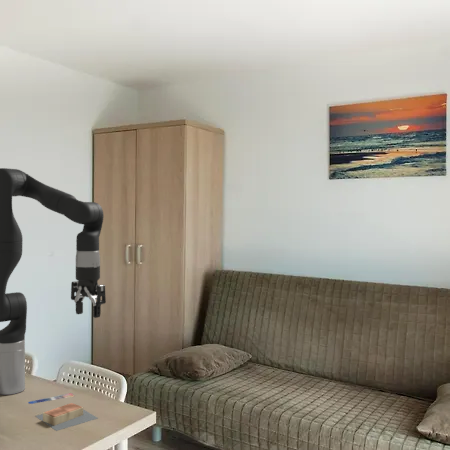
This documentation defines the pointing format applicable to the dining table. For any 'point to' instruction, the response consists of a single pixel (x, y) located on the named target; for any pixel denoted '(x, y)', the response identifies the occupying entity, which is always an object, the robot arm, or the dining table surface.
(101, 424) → the dining table surface
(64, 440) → the dining table surface
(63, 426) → the mat
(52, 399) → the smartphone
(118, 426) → the dining table surface
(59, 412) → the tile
